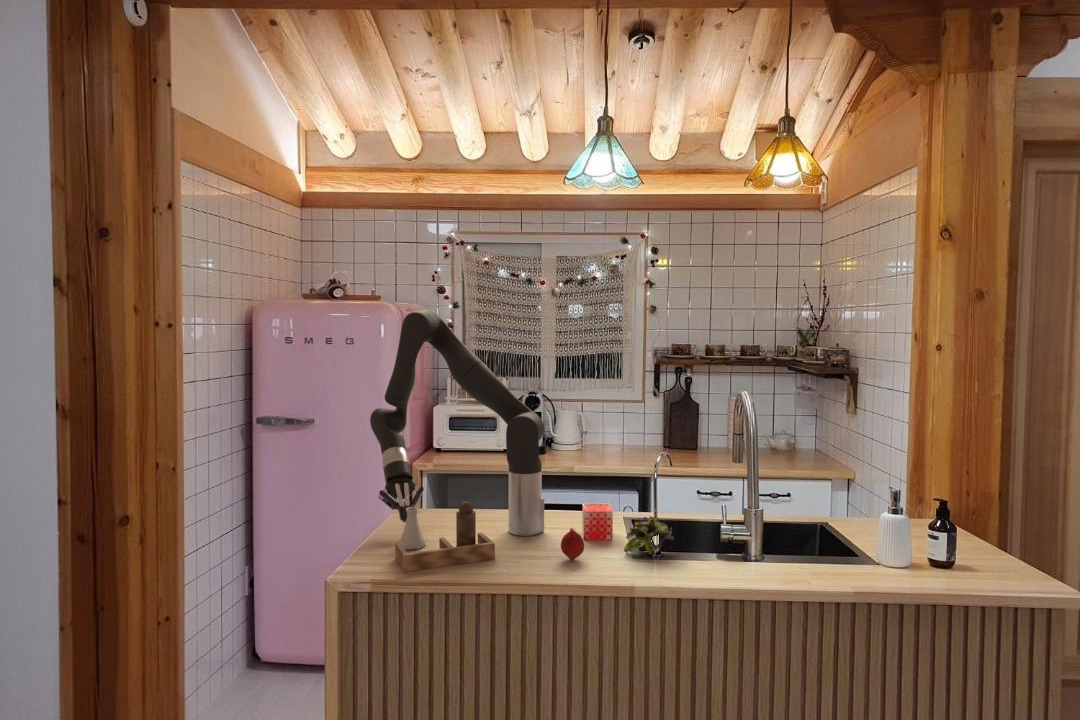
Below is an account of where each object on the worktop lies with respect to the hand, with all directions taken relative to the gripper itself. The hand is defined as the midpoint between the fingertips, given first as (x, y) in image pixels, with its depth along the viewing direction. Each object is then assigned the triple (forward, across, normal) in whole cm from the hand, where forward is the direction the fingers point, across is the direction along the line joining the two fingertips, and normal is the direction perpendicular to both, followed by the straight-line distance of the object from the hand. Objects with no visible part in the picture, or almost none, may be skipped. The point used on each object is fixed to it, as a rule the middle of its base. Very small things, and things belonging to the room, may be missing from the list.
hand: (406, 520), depth 188 cm
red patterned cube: (+16, +49, -9) cm, 52 cm away
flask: (+8, 0, -1) cm, 8 cm away
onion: (+26, +34, -19) cm, 47 cm away
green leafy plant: (+29, +54, -22) cm, 65 cm away
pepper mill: (+17, +11, -10) cm, 22 cm away
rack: (+17, +5, -10) cm, 21 cm away
